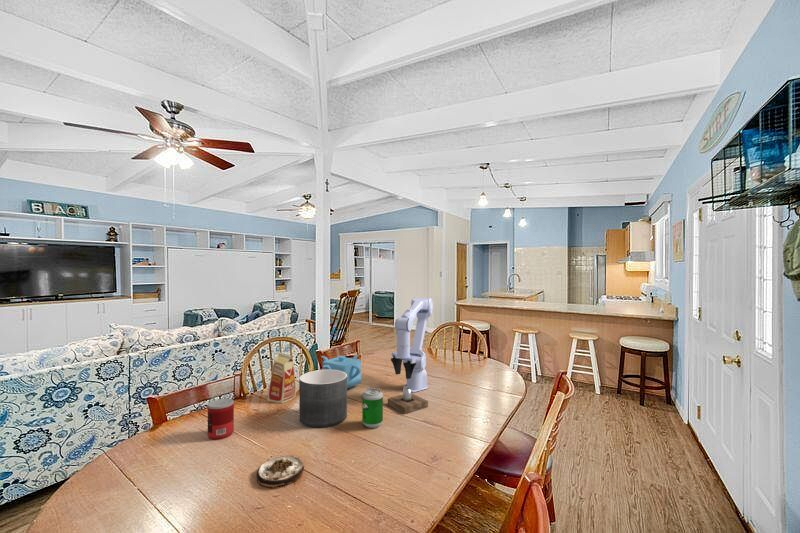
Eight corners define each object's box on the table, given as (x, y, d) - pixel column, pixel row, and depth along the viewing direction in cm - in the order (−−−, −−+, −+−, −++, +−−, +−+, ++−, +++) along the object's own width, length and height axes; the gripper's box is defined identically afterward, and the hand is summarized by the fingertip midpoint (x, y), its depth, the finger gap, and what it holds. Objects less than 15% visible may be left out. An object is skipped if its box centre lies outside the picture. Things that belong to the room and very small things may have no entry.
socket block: (409, 398, 154) (409, 392, 154) (428, 406, 145) (428, 400, 145) (387, 404, 147) (387, 398, 147) (405, 414, 138) (405, 407, 138)
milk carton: (267, 400, 150) (267, 354, 150) (282, 393, 159) (282, 349, 159) (284, 404, 147) (284, 356, 147) (298, 396, 155) (298, 351, 155)
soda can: (384, 420, 132) (384, 388, 132) (381, 429, 124) (381, 395, 124) (364, 419, 133) (364, 387, 133) (360, 428, 125) (360, 394, 125)
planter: (290, 418, 134) (290, 376, 134) (328, 404, 147) (329, 366, 147) (316, 433, 122) (317, 387, 122) (356, 417, 135) (356, 376, 135)
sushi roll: (250, 498, 88) (250, 482, 88) (253, 466, 102) (253, 452, 102) (310, 485, 93) (310, 470, 93) (305, 457, 107) (305, 443, 107)
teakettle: (363, 392, 161) (363, 360, 161) (321, 395, 157) (321, 362, 157) (358, 379, 179) (358, 350, 179) (320, 382, 175) (321, 352, 175)
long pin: (408, 403, 148) (408, 387, 148) (412, 406, 145) (412, 389, 145) (401, 405, 146) (401, 388, 146) (406, 408, 143) (406, 391, 143)
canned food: (238, 431, 123) (238, 399, 123) (220, 442, 115) (220, 408, 115) (221, 427, 125) (221, 397, 125) (202, 438, 118) (202, 405, 118)
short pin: (371, 396, 156) (371, 387, 156) (376, 398, 154) (376, 389, 154) (365, 398, 154) (365, 388, 154) (369, 400, 152) (369, 391, 152)
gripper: (386, 343, 157) (386, 373, 157) (406, 349, 145) (406, 382, 145) (399, 341, 161) (398, 371, 161) (419, 347, 149) (419, 379, 149)
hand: (403, 376), depth 153 cm, fingers open, 7 cm apart
